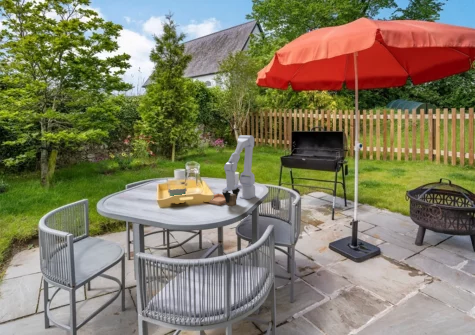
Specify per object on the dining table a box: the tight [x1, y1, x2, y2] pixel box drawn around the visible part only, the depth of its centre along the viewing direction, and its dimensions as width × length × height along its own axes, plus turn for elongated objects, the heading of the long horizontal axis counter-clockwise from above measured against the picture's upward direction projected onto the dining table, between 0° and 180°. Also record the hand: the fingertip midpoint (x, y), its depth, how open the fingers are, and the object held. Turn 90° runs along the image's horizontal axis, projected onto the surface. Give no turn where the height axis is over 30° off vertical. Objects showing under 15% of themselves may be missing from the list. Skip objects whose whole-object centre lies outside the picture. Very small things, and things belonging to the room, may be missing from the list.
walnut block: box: [226, 193, 237, 207], centre depth 196 cm, size 4×5×7 cm
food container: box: [167, 187, 187, 197], centre depth 202 cm, size 12×6×10 cm, turn 101°
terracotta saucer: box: [208, 193, 227, 206], centre depth 206 cm, size 15×15×2 cm
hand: (231, 201), depth 196 cm, fingers open, 7 cm apart
